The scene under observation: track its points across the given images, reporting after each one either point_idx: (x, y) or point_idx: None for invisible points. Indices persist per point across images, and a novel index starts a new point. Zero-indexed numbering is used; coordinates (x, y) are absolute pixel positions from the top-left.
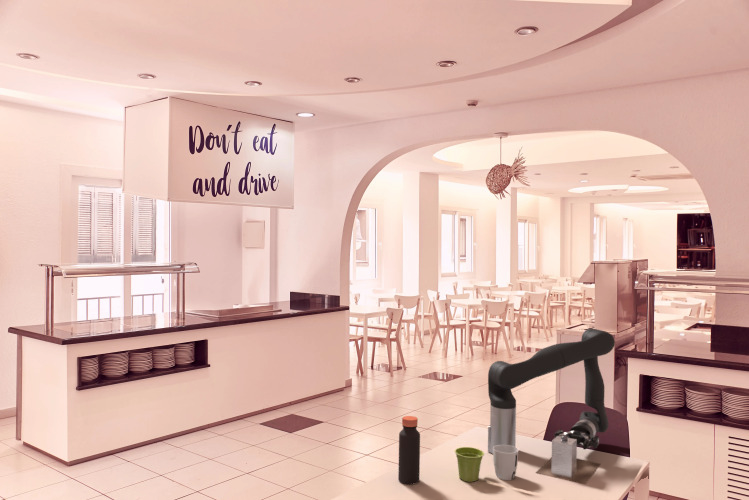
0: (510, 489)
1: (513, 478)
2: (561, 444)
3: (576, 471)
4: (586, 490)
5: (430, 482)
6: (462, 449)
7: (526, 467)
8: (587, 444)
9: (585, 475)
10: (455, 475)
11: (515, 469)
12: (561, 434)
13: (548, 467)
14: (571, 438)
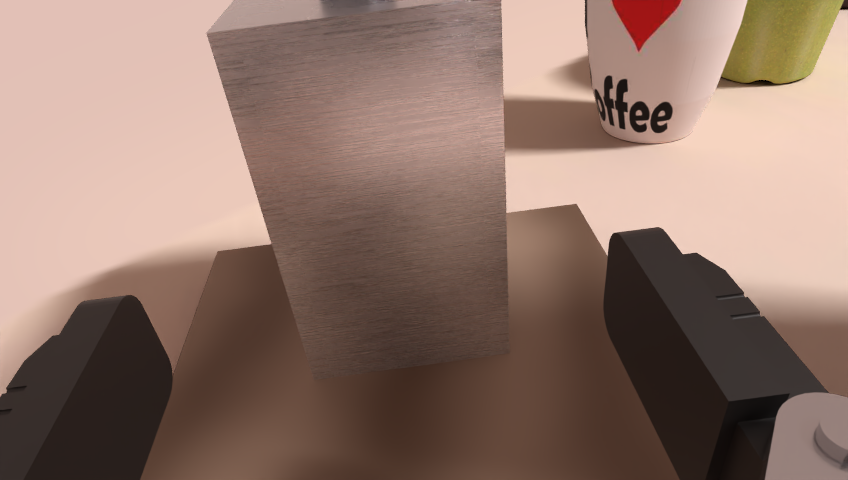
0: (548, 95)
1: (598, 110)
2: None
3: (319, 406)
4: (217, 245)
5: None
6: None
7: (752, 290)
8: (46, 343)
9: (223, 377)
10: (825, 60)
11: (589, 57)
12: (823, 426)
13: (580, 324)
14: (286, 22)
